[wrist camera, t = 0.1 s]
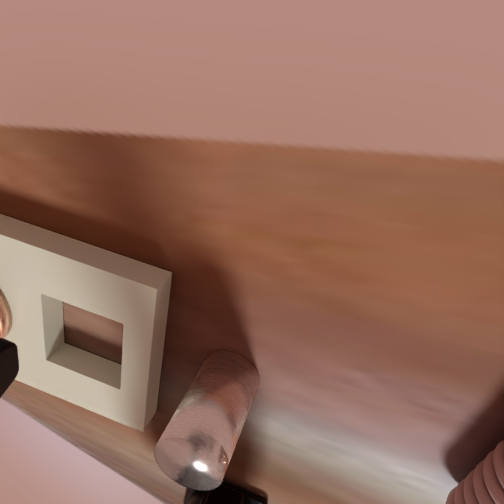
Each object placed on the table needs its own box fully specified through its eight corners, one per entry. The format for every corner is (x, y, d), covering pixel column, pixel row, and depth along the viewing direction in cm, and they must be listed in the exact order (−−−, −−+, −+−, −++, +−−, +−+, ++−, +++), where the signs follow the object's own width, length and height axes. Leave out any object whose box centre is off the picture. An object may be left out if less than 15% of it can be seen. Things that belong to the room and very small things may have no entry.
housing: (156, 411, 32) (143, 432, 31) (-39, 333, 35) (-61, 348, 34) (172, 272, 26) (156, 289, 24) (-68, 190, 29) (-97, 200, 27)
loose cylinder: (253, 405, 29) (217, 500, 23) (199, 384, 30) (151, 472, 24) (265, 363, 27) (228, 456, 21) (207, 342, 28) (156, 427, 22)
